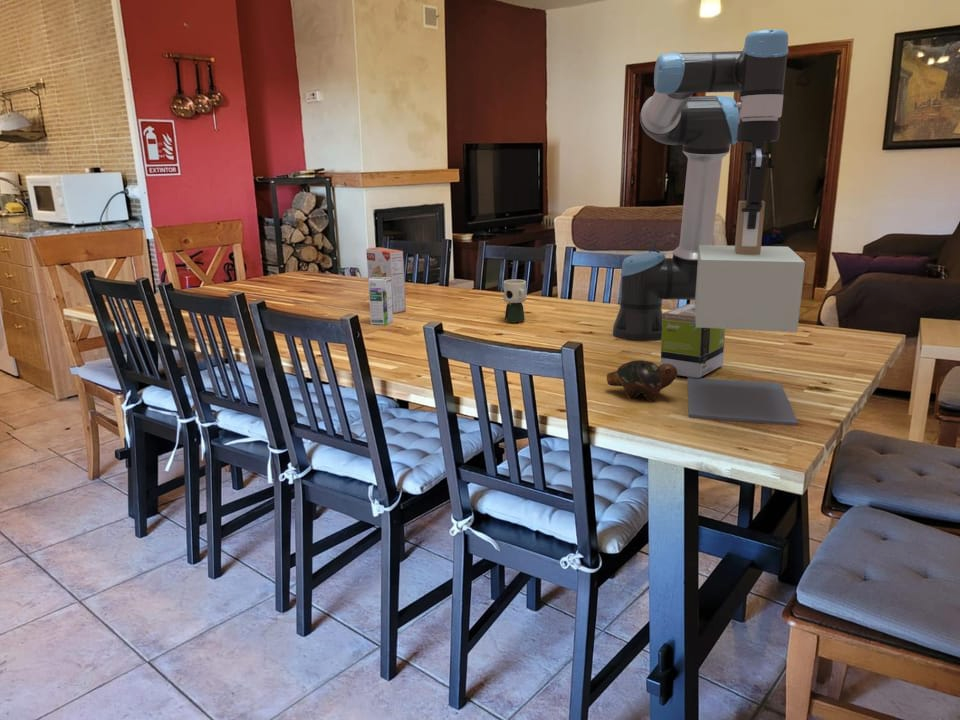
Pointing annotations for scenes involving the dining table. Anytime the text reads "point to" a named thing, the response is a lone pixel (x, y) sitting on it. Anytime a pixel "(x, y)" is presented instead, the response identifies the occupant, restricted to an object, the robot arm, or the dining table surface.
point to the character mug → (514, 299)
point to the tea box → (690, 343)
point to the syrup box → (380, 300)
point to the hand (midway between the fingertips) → (748, 244)
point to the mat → (739, 401)
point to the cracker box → (389, 272)
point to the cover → (748, 284)
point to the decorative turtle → (642, 378)
